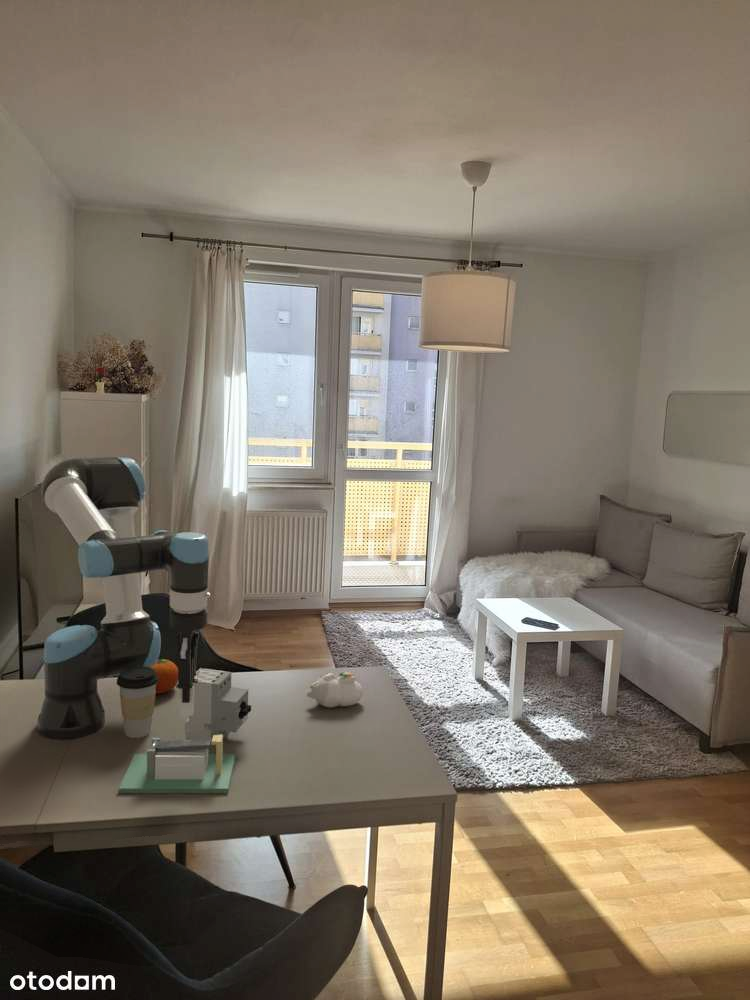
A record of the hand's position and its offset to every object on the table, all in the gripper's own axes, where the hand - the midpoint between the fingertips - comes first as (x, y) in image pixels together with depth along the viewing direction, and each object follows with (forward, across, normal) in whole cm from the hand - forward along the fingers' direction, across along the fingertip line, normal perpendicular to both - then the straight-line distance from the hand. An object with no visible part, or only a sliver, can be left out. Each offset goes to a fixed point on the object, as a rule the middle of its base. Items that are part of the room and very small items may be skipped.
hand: (186, 713), depth 156 cm
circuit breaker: (+14, +16, -5) cm, 22 cm away
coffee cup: (+15, +18, +14) cm, 27 cm away
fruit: (+15, +43, +14) cm, 47 cm away
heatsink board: (+14, -1, +1) cm, 14 cm away
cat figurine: (+14, +35, -33) cm, 50 cm away
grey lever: (+7, -1, +1) cm, 8 cm away
